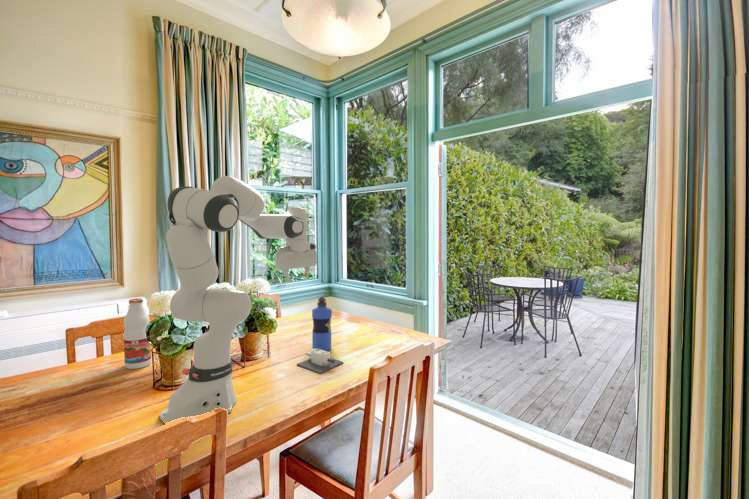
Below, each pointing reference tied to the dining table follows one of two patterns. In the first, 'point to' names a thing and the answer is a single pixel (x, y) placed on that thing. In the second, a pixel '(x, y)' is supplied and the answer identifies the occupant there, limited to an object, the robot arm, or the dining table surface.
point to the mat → (318, 368)
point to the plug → (320, 357)
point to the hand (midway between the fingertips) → (296, 278)
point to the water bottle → (321, 326)
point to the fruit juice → (136, 336)
